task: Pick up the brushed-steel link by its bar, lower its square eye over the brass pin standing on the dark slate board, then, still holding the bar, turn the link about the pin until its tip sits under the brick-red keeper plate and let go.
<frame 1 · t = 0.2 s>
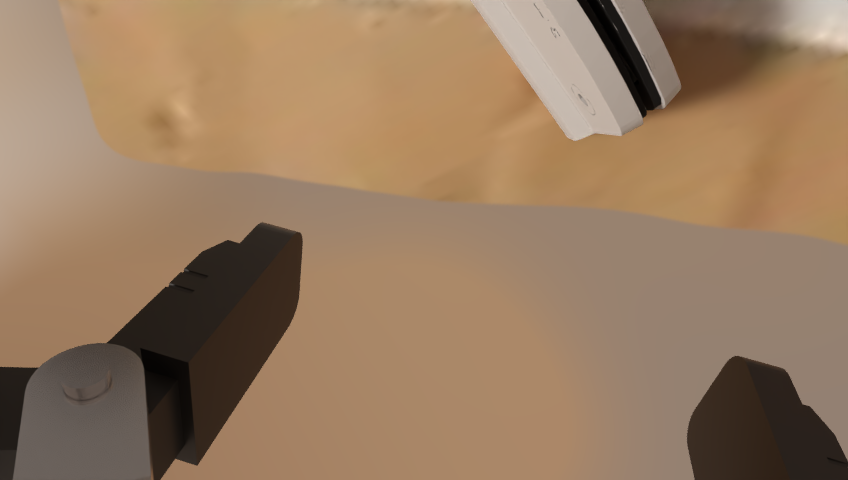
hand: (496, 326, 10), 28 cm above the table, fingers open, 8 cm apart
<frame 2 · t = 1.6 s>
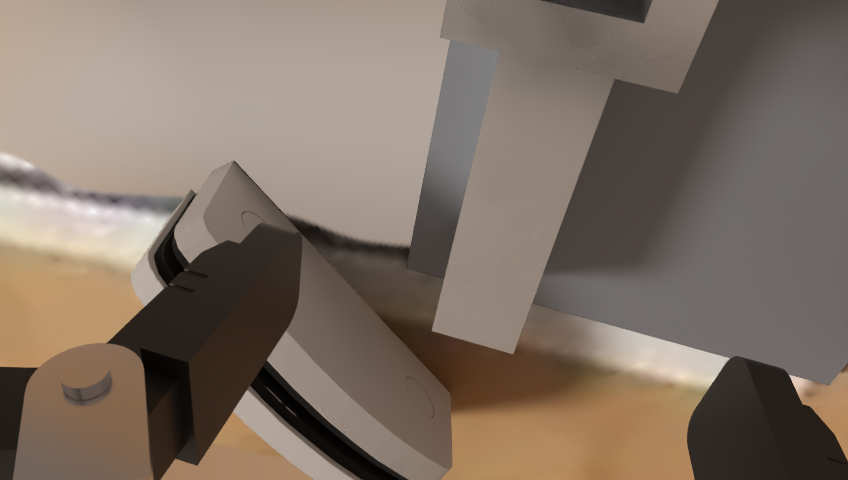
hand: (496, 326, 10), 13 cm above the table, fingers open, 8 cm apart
board: (707, 106, 19), on the table
link: (489, 264, 24), point 1 cm above the table, touching board
hinge: (338, 292, 28), on the table
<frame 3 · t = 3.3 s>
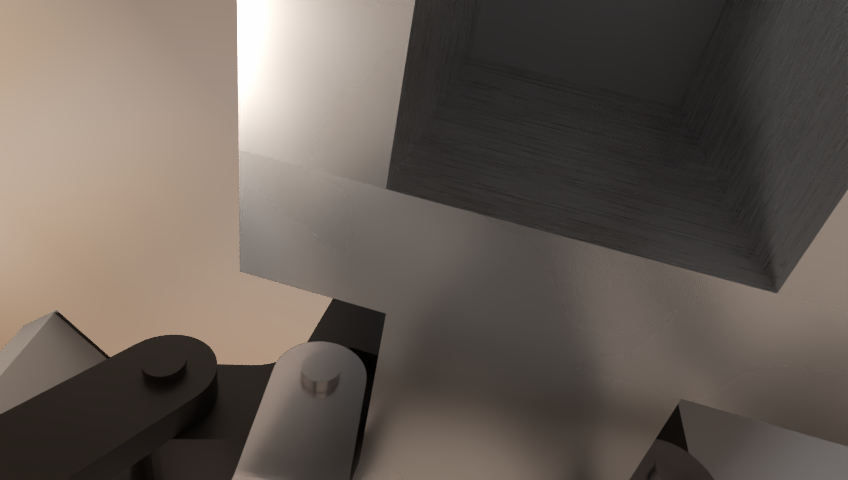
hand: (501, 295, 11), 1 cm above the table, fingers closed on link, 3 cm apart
board: (816, 294, 11), on the table
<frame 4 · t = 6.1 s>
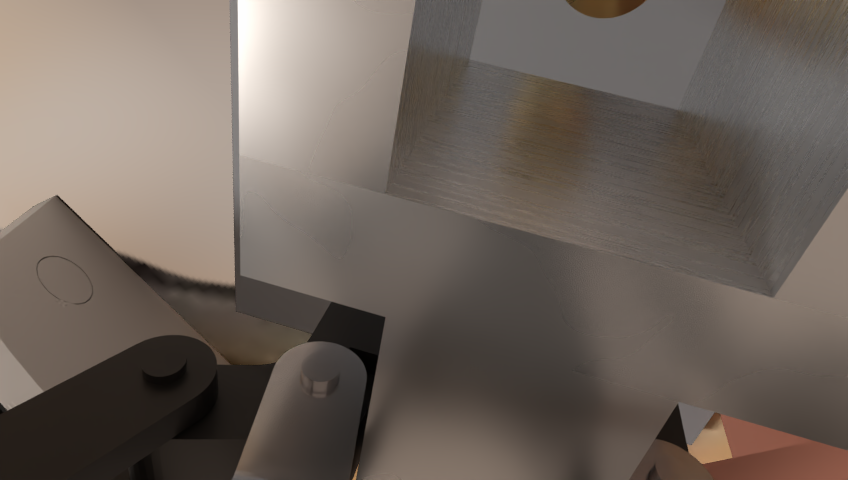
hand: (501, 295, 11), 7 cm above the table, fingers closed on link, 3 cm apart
keeper: (776, 308, 18), on the table
board: (522, 140, 17), on the table
hinge: (187, 336, 26), on the table
when the fingers open (1 cm above the table, at t = 8.8 s): link stays where it is, resting on board.
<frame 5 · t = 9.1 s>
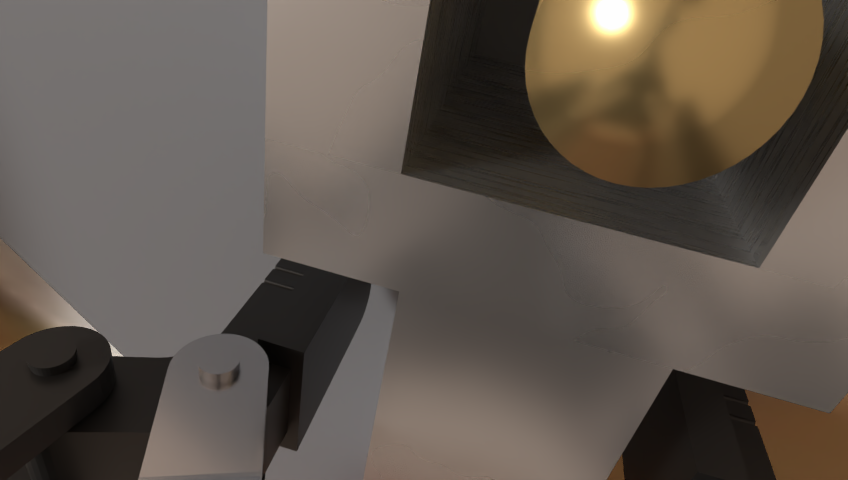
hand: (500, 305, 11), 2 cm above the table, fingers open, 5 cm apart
board: (336, 118, 12), on the table
link: (443, 475, 16), point 1 cm above the table, touching board
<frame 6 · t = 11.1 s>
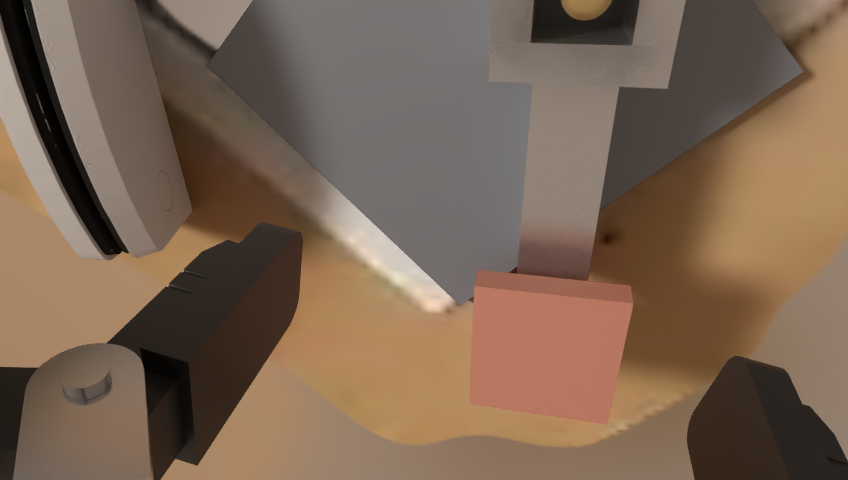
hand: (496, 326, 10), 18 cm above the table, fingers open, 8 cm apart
keeper: (549, 241, 30), on the table
board: (475, 64, 26), on the table
link: (549, 251, 29), point 1 cm above the table, touching board
hinge: (141, 74, 30), on the table
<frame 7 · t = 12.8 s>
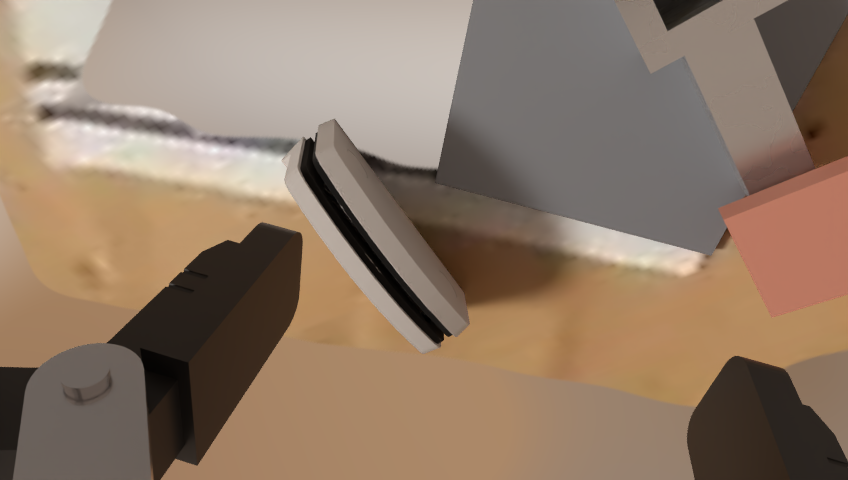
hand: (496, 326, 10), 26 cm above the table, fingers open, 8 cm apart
keeper: (759, 164, 33), on the table
board: (623, 69, 32), on the table
link: (765, 171, 33), point 1 cm above the table, touching board
hinge: (392, 216, 41), on the table
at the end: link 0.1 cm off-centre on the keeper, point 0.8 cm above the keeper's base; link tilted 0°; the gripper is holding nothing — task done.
